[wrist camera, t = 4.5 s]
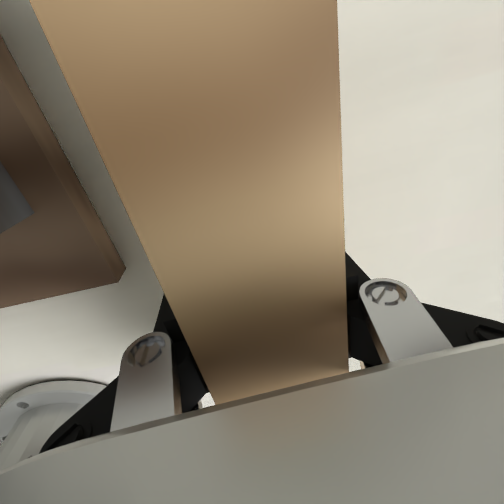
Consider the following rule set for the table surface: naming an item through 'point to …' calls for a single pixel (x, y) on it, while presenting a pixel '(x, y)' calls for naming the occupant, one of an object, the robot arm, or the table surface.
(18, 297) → the fulcrum stand
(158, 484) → the robot arm
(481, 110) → the table surface
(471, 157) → the table surface
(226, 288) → the oak beam
